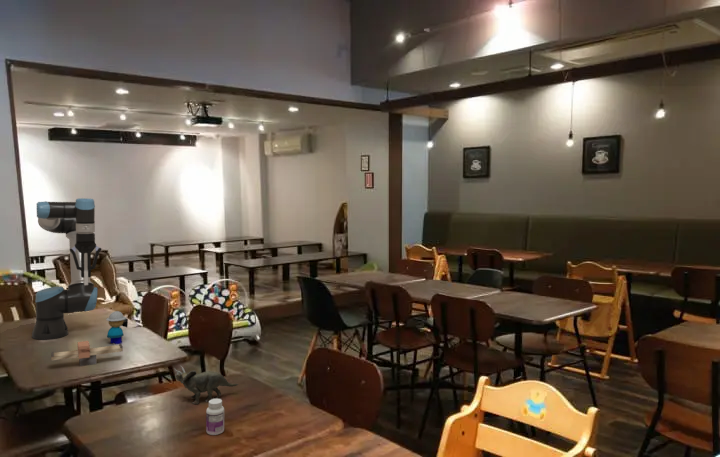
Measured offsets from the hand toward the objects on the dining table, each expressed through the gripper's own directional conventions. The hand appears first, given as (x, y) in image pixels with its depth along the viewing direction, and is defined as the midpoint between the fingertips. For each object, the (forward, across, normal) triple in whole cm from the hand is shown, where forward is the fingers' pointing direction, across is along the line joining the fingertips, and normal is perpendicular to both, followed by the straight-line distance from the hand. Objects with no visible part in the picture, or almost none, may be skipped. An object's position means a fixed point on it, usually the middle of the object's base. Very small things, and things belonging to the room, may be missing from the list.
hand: (86, 284), depth 232 cm
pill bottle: (+29, +29, -108) cm, 116 cm away
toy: (+29, +13, +3) cm, 32 cm away
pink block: (+25, -2, -24) cm, 35 cm away
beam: (+29, -1, -24) cm, 38 cm away
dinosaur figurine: (+29, +33, -83) cm, 94 cm away
